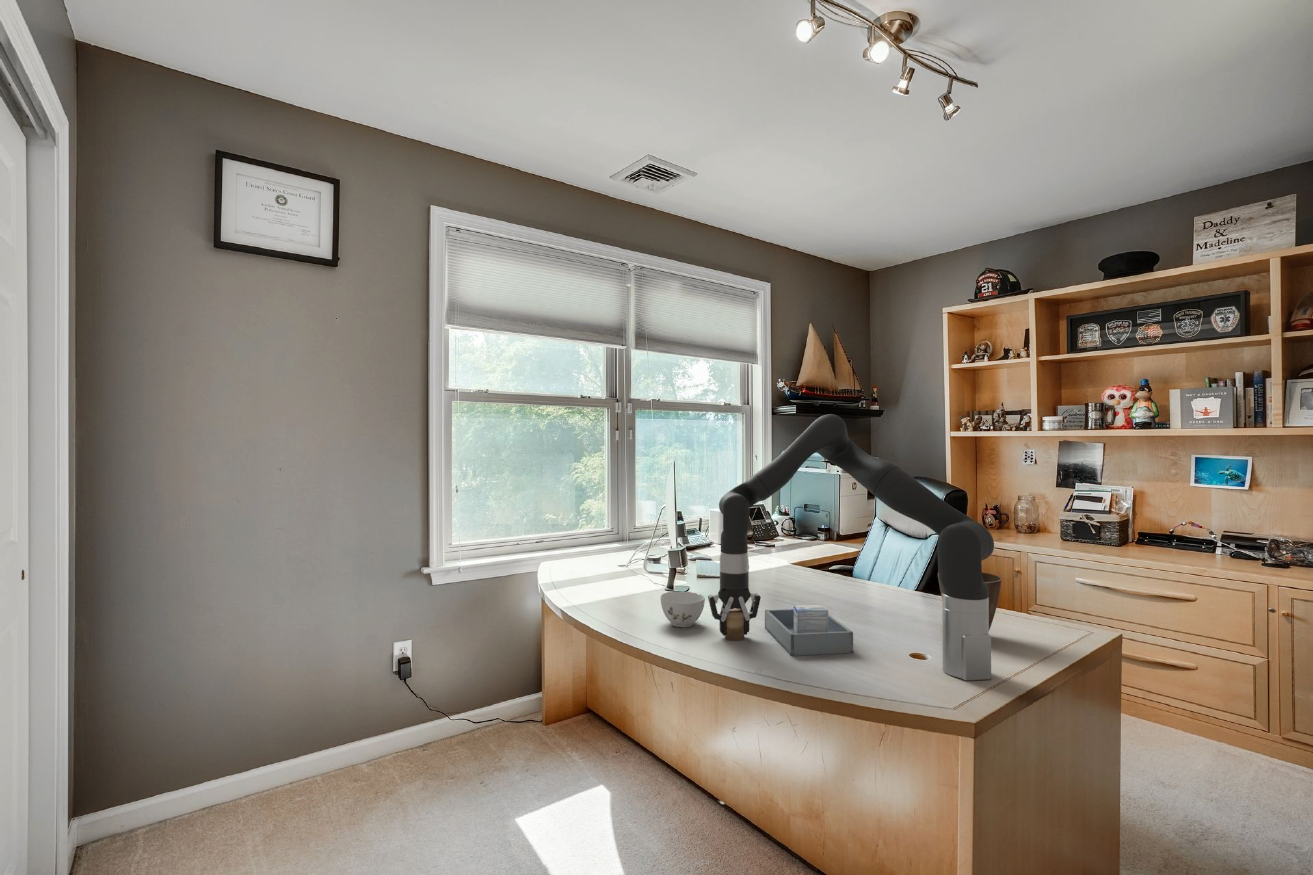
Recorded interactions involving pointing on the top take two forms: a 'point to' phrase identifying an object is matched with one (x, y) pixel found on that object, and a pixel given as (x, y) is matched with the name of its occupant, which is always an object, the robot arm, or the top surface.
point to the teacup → (682, 607)
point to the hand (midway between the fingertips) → (734, 634)
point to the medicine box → (810, 619)
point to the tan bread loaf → (735, 625)
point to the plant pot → (994, 591)
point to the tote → (807, 635)
